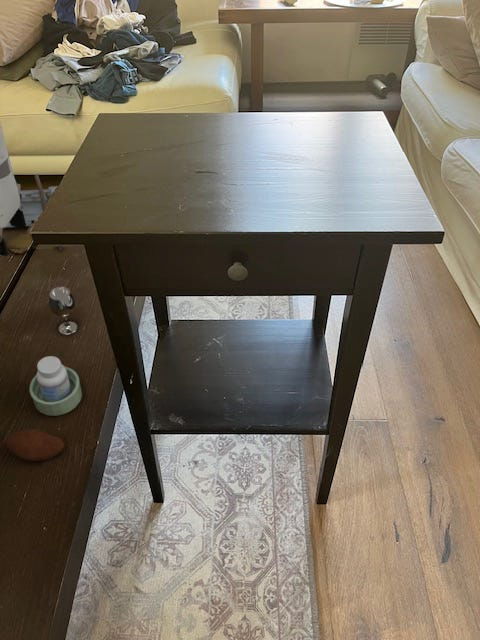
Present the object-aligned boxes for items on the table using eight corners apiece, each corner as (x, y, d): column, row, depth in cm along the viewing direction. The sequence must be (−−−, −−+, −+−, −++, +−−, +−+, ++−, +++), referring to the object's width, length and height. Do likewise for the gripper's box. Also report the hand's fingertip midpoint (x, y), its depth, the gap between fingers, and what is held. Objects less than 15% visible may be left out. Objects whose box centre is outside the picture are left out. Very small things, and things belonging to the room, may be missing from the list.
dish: (27, 415, 107) (22, 401, 103) (43, 377, 114) (38, 363, 111) (75, 419, 107) (71, 406, 104) (87, 381, 114) (84, 368, 111)
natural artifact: (69, 247, 147) (60, 251, 150) (39, 173, 145) (31, 179, 147) (58, 249, 144) (50, 253, 147) (28, 174, 142) (20, 179, 144)
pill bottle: (37, 397, 110) (26, 366, 101) (59, 380, 113) (50, 348, 105) (56, 412, 107) (46, 380, 99) (78, 394, 111) (70, 362, 103)
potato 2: (61, 467, 99) (55, 450, 95) (3, 464, 99) (-6, 447, 94) (69, 441, 104) (64, 423, 99) (14, 438, 103) (6, 420, 99)
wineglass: (64, 340, 122) (56, 305, 114) (51, 327, 125) (41, 292, 116) (84, 328, 126) (77, 294, 117) (71, 316, 128) (63, 281, 119)
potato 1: (21, 255, 138) (-2, 247, 140) (37, 261, 146) (15, 254, 148) (29, 231, 139) (6, 224, 141) (45, 239, 146) (23, 232, 148)
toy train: (72, 188, 148) (72, 179, 160) (-29, 194, 141) (-21, 183, 153) (77, 225, 153) (77, 212, 165) (-20, 232, 146) (-12, 218, 158)
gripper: (-12, 141, 98) (8, 214, 110) (-54, 188, 86) (-27, 263, 98) (26, 146, 98) (42, 218, 110) (-11, 193, 86) (11, 268, 98)
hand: (9, 239), depth 104 cm, fingers open, 9 cm apart
